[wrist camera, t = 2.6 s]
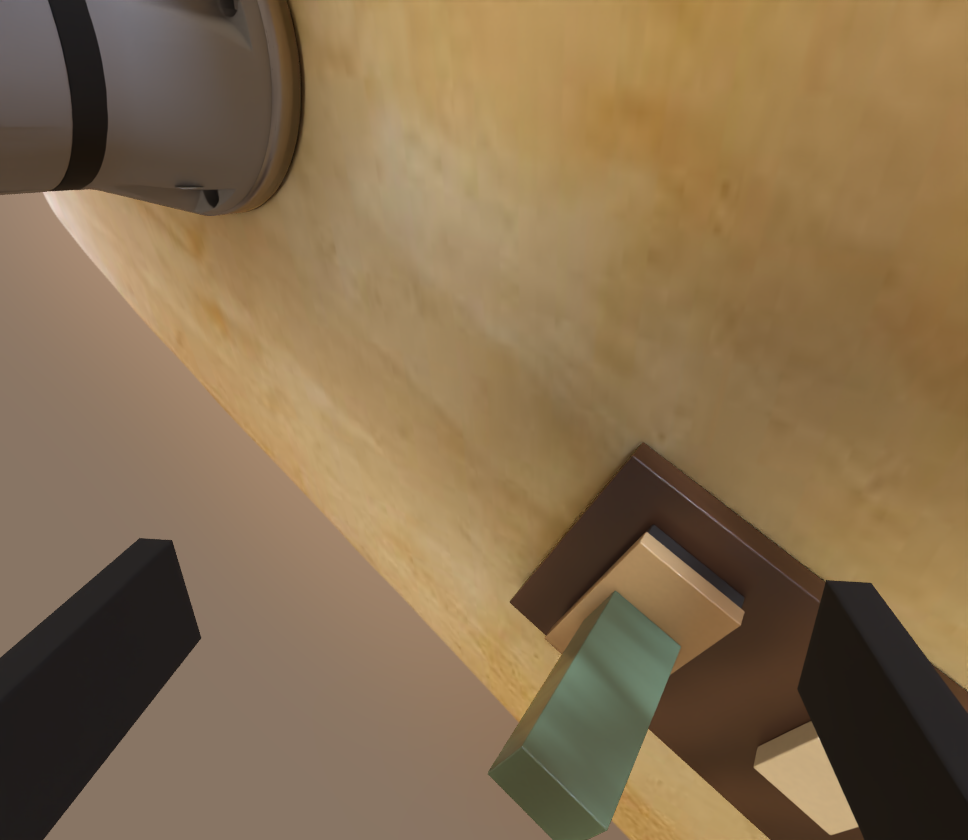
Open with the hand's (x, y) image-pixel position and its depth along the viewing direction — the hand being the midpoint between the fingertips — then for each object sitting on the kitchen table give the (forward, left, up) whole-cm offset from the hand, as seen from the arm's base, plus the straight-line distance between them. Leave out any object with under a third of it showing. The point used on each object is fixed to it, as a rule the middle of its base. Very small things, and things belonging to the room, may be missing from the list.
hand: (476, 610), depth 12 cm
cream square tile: (+16, -10, -14) cm, 23 cm away
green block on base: (+6, -10, -14) cm, 18 cm away
